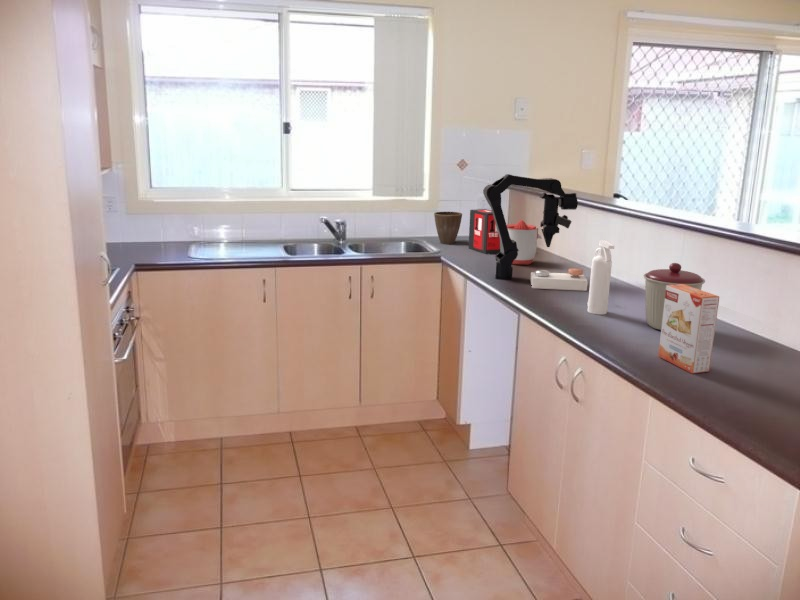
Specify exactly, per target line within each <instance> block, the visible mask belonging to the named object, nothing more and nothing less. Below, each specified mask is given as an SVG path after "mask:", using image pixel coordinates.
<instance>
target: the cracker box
mask: <svg viewBox="0 0 800 600" xmlns="http://www.w3.org/2000/svg"><path fill="white" fill-rule="evenodd" d="M719 303H720V296H719V295H717V294H713V293H710V292H707V291H705V290H702V289H701V290H699V289H696V288H693V287H690V286H687V285H684V284H677V285H666V293H665V302H664V311H663V319H662V328H661V330H660V337H659V338H660V339H659V347H658V357H657V358H660V359H662V360H664V361H667V362H668V363H670V364H672V365H675V366H676V367H678V368H680V369H682V370H684V371H686V372H688V373H690V374H692V375H693V374H701V373H709V372H710V370H711V363H712V355H713V347H714V346H713V345H714V339H715V334H716V333H715V332H716V325H717V319H718V312H719V311H718V310H719Z"/></svg>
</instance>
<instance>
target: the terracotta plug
mask: <svg viewBox="0 0 800 600" xmlns="http://www.w3.org/2000/svg"><path fill="white" fill-rule="evenodd" d="M568 274H570V275H572V278H578V276H579V275H583V274H584V269H582V268H575V267H574V268H568Z"/></svg>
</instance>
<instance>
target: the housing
mask: <svg viewBox="0 0 800 600" xmlns="http://www.w3.org/2000/svg"><path fill="white" fill-rule="evenodd" d="M529 282H530V285H532V286H531V289H545V290H546V289H547V290H565V291H566V290H567V291H584V292H585V291H587V290H588V279H587V277H586V275H585V274H584V273H583V275H579V276H578V278H572V275H570V274H568V273H567V272H566V273H564V272H561V273H559V272H549V276H547V277H540V276H536V275H535V271H531V272H530V281H529Z"/></svg>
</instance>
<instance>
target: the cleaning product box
mask: <svg viewBox="0 0 800 600" xmlns="http://www.w3.org/2000/svg"><path fill="white" fill-rule="evenodd" d="M468 249H469V250H472V251H475V252H477V253H481V254H483V255H492V254H495V255H496V254H498V253H499V252H500V237H499V234H498V230H497V227H496V223H495V220H494V216H493V213H492V209H491V210H490V209H486V208H484V209H483V208H481V209H470V210H469V232H468Z"/></svg>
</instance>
